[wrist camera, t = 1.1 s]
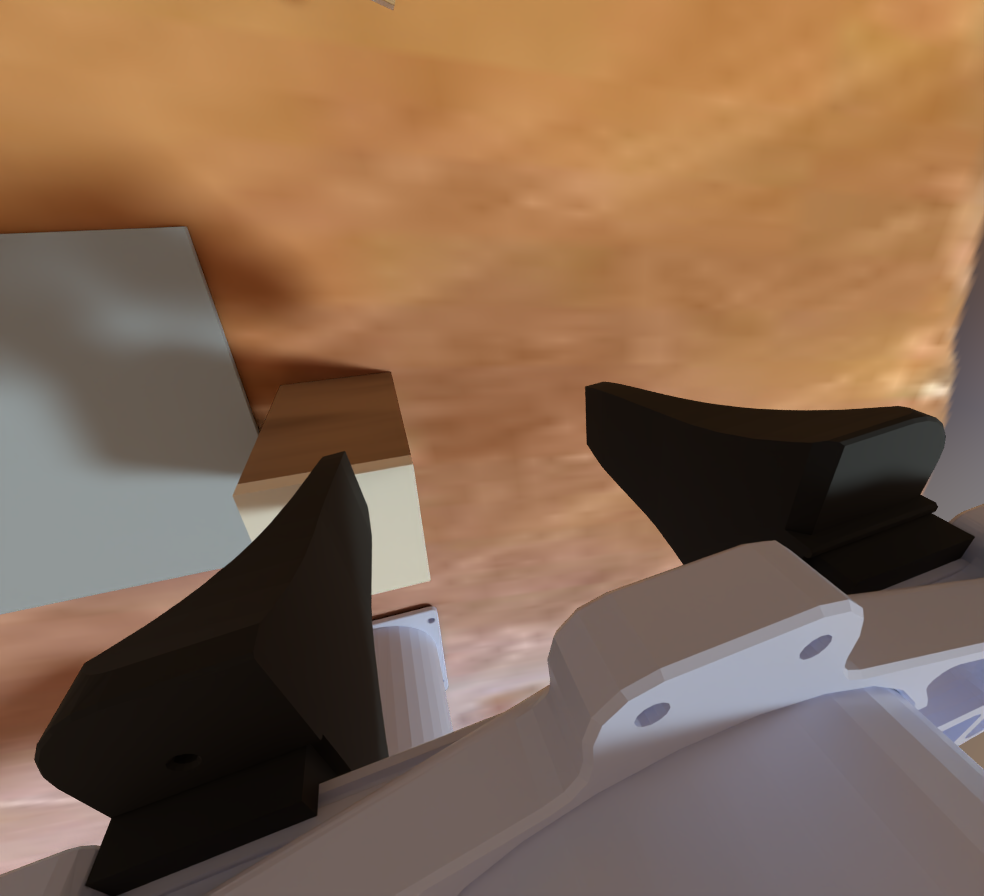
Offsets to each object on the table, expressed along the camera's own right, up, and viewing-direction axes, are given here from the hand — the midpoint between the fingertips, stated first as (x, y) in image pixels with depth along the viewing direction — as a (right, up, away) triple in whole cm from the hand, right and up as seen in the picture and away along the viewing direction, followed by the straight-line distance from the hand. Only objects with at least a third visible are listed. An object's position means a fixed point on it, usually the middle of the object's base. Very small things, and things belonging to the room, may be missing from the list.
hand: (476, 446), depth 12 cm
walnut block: (-7, +1, +9) cm, 11 cm away
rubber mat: (-17, 0, +6) cm, 18 cm away
